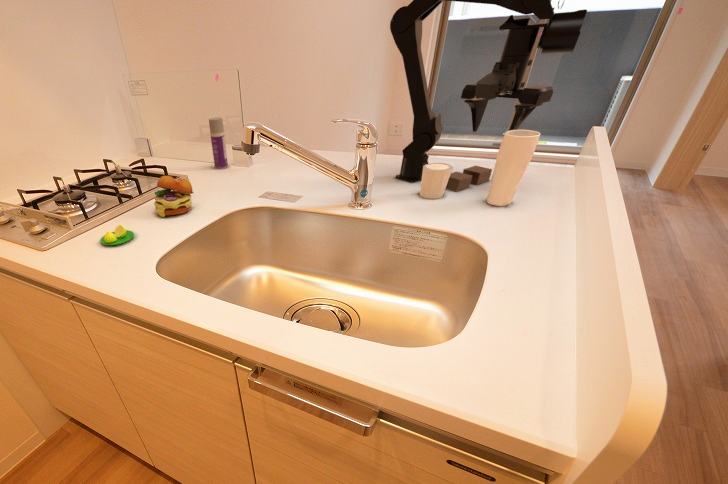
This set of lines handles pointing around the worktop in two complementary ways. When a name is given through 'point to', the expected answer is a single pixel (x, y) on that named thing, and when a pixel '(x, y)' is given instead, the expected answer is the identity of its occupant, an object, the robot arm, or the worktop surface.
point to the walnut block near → (458, 181)
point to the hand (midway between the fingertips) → (491, 134)
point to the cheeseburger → (173, 196)
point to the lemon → (117, 236)
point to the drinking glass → (511, 165)
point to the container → (218, 142)
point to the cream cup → (434, 180)
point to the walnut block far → (478, 174)
